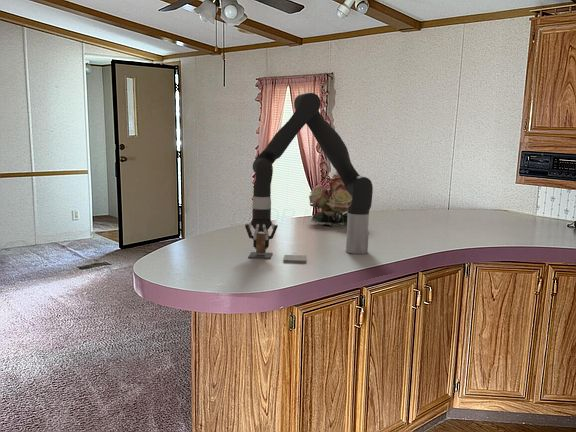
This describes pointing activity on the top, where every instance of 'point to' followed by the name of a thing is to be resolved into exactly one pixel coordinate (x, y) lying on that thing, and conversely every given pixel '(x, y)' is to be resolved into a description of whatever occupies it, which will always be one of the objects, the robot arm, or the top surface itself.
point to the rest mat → (260, 255)
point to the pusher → (260, 243)
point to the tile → (294, 259)
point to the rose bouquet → (331, 203)
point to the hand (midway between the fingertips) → (261, 248)
